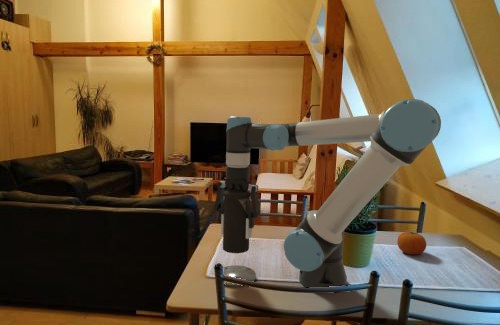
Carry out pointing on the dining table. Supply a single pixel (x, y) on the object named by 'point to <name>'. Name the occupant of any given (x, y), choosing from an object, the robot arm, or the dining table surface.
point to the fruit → (411, 243)
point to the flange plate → (239, 273)
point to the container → (235, 221)
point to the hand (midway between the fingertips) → (236, 234)
